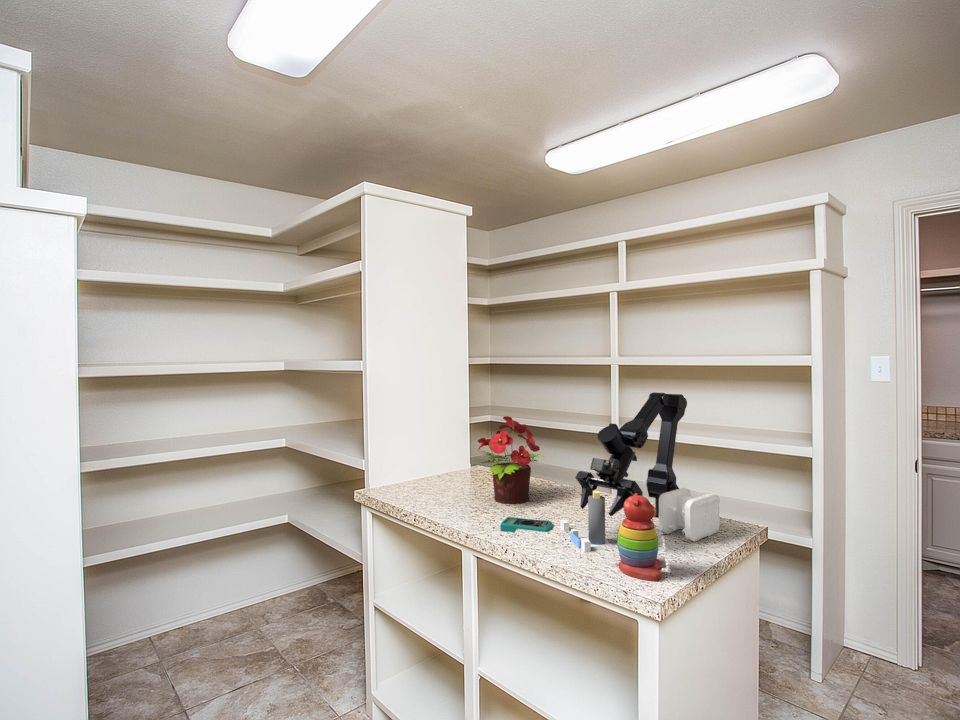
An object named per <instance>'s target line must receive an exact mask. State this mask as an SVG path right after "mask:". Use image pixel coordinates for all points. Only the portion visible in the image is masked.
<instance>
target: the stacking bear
mask: <svg viewBox="0 0 960 720" xmlns="http://www.w3.org/2000/svg"><path fill="white" fill-rule="evenodd" d="M623 511H624V515H625V518H623V520H622V521H621V523H620V526H619V530H618V533H617V548H618V554H619V557H620V561H619V563H618V570H619V571H620V572H621V573H623V574H625V575H626V576H629V577H633V578H636V579H639V580H644V581H652V582H658V581H660V580H662V578H663V577H662V576H663V575H662V573H661V571H660V570H662V569H663V567H661V565H663V562H662V560H660V559H658V553H659V548H660V547H659V545H660V544H659V543H660V541H659V537H658V533H657V529H656V526H655V523H654V522H653V518H655V517H654V516H655V514H656V511H657V510H656V508H655V506H654V505H653V504H652V503H651V502H650V500H649V499H648V498H647V497H645V496H639V495H637V493H635V494H634V495H633V496H631V497H629V498H627V499H626V501H625V502H624V507H623Z"/></svg>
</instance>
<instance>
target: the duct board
mask: <svg viewBox="0 0 960 720" xmlns="http://www.w3.org/2000/svg"><path fill="white" fill-rule="evenodd" d="M560 529H561V531H563V532H569V535H570V539H569V540H570V541H571V542H572V543H573V544H574V545H575V546H576V547H577V548H578V549H582V551H583V552H584V553H585V552H586V553H587V552H591V548H595V547H606V546H607V547H609V546H613V544H612V543H610V542H609V541H608V540H607V539H606V538H605V544H602V545H594V544H591V542H590V541H589V528H588V529H577V528H573V529H570V522H569V521H568V520H567V519H560Z"/></svg>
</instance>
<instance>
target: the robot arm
mask: <svg viewBox="0 0 960 720" xmlns="http://www.w3.org/2000/svg"><path fill="white" fill-rule="evenodd" d="M687 406H688V401H687V398H686V397H684V395H683V394H682V393H681V394H679V393H665V392H654V391H653V392H651V393H649V395H648V399H647V400H646V401H645V403H644V404H643V406H642V407H641V409H640V410H639V411H638V412H637V414H636V415H635V417H634V418H633V419H631V420H629V421H628V422H625V423H624V424H623V425H621V427H620V428H619V426H618V425H617V423H612V422H611V423H609V425H607V426H606V427H603V428H601V430H599V431H598V433H597V439H598V441H599V443H600V444H601V445H602V447H603V448H604V449H605V451H606V453H608V454H610V457H609V458H608V459H603V458H597V457H592V460H591V464H590V467H589V469H590V470H593V471H595V472H596V473H595V474H596V476H597V477H599V478H595V476H594V475H593V474H592V472H590V471H589V472H588V471H584V470H581V471H578V472H577V473H576V475H575V478H574V479H575V480H577V482H578V483H579V485H580V487H581V496H580V509H581V510H583V509H585V508H586V506H588V497H589V496H592V495H593V491H597V488H598V487H601V488H603V489H604V488H605V489H610V490H616V495H615V498H614V501H613V502H612V504H611V506H610V509H609V512H608V515H609V516H610V517H613V516H614V515H615V514H617V513H618V512H619V511H620V510H622V509H624V502H625V501H626V499H627V498H629V497H631V496H633V495H634V494H635V493H637V495H639V496H643V495H644V493H643V490H642V489H641V487H640V486H639V484H638V483H637V482H636V481H635V480H632V479H631V480H630V479H626V478H628V476H629V473H628V472H627V471H628V470H629V468H630V466H631V464H632V462H637V461H638V457H637V454H636V451H634V450H633V449H632V448H637V449H642V448H643V447H644V446H645V444H646V443H647V440H648V438H649V434H648V431H649V429H650V427H651V425H652V424H653V423H654V421H655V419H656V418H657V417H658V415H659V417H660V419H661V422H660V429H659V437H658V443H657V444H658V445H657V452H656V461H655V465H654V466H653V468H649V469H648V471H647V477H646V480H645V481H646V484H645V486H646V490H647V493H648V497H649V498H655V500H654V501H655V503H654V504H655V506H654V507H655V508H656V510H657V511H656V514H655V516H654V517H653V518H658V519H659V497H660V495H661V494H663V493H666V492H670V491H673V490H677V489H680V487H679V486H678V485H677V476H676V474H675V471H674V469H673V463H674V455H675V449H676V448H675V446H676V440H677V439H676V438H677V432H678V424H679V422H680V420H681V419H682V418H683V417H684V415H685V412H686V408H687Z"/></svg>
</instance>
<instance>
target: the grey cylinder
mask: <svg viewBox="0 0 960 720" xmlns="http://www.w3.org/2000/svg"><path fill="white" fill-rule="evenodd" d="M587 508H588V510H587V511H588V515H587V516H588V519H587V520H588V523H587V524H588V525H587V526H588V529H589V537H588V539H589V541H590V542H591V544H594V545H602V544H605V539H606V498H605V496H603V495H601V492H600V490H594V491H593V495H592V496H589V497H588V504H587Z"/></svg>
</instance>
